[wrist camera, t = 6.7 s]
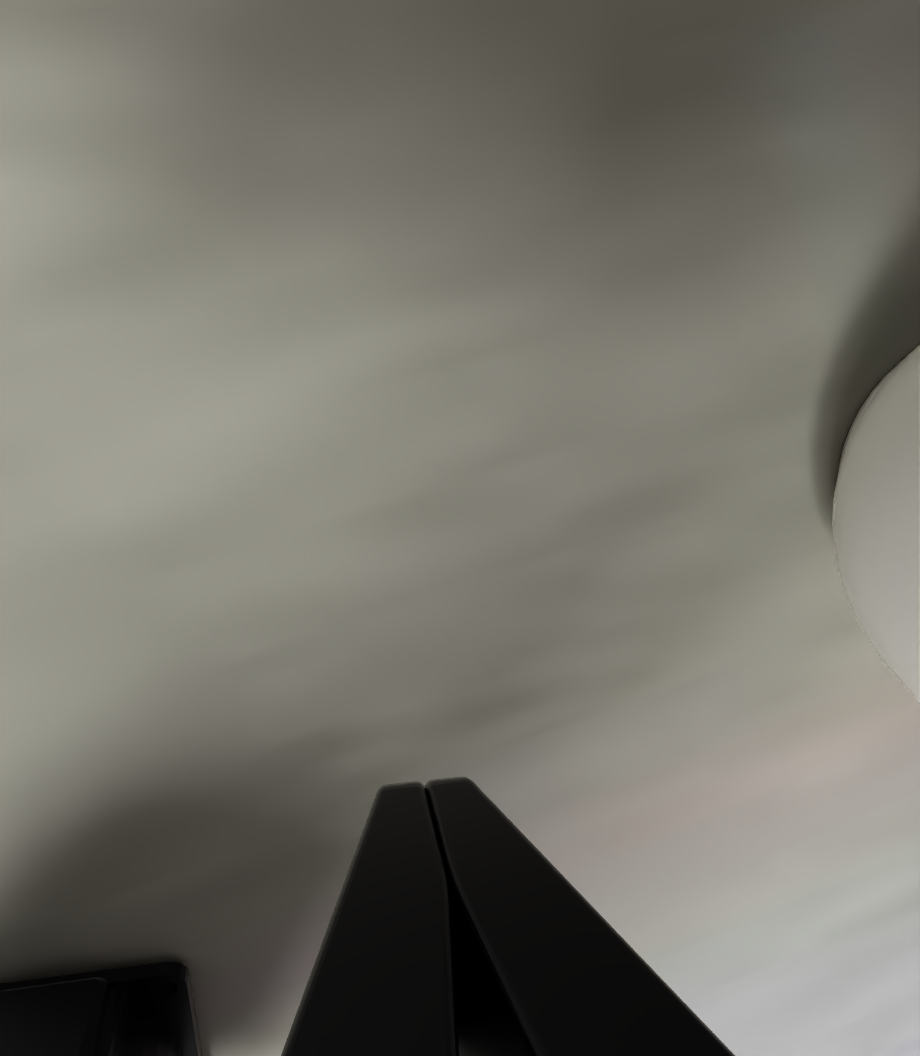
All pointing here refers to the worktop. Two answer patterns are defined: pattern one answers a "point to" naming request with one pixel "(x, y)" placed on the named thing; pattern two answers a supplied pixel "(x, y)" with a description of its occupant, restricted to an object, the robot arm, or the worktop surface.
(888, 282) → the worktop surface
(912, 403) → the lidded jar
